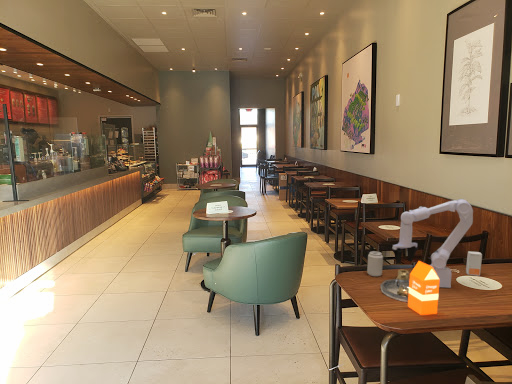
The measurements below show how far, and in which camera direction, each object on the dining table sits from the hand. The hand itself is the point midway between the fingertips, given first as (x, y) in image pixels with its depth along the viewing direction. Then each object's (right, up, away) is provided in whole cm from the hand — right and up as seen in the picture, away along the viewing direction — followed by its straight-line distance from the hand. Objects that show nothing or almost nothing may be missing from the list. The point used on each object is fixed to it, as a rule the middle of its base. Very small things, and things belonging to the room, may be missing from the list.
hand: (404, 261), depth 191 cm
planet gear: (0, -9, +1) cm, 10 cm away
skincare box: (+41, -9, +11) cm, 44 cm away
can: (-12, -9, +9) cm, 17 cm away
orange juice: (-5, -14, -33) cm, 37 cm away
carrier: (-4, -12, -15) cm, 20 cm away
